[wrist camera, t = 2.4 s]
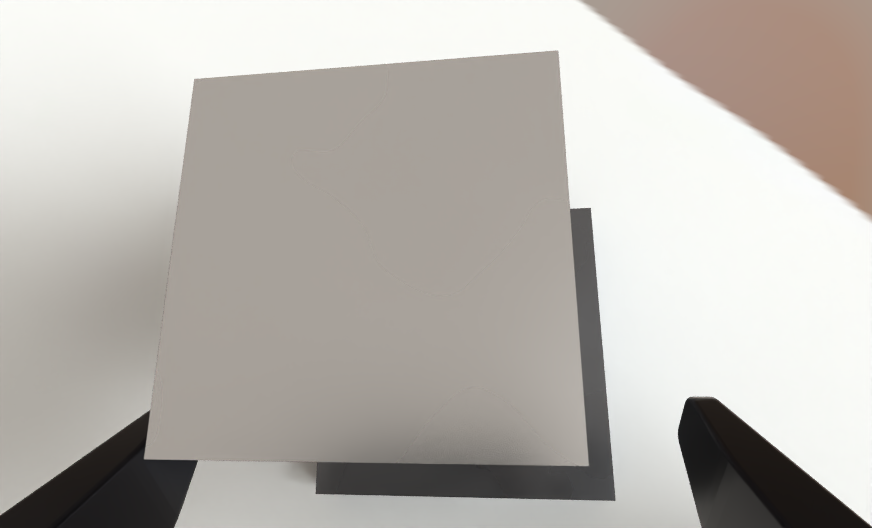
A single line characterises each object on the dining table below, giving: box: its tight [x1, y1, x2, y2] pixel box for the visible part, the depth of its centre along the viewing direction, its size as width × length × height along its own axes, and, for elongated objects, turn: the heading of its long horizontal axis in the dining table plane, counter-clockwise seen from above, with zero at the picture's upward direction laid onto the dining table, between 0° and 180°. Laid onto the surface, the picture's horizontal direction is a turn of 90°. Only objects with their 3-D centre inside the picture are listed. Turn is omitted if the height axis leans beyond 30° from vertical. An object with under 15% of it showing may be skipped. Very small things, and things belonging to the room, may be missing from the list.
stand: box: [316, 208, 615, 501], centre depth 16 cm, size 10×10×6 cm
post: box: [144, 51, 589, 466], centre depth 11 cm, size 4×4×13 cm
